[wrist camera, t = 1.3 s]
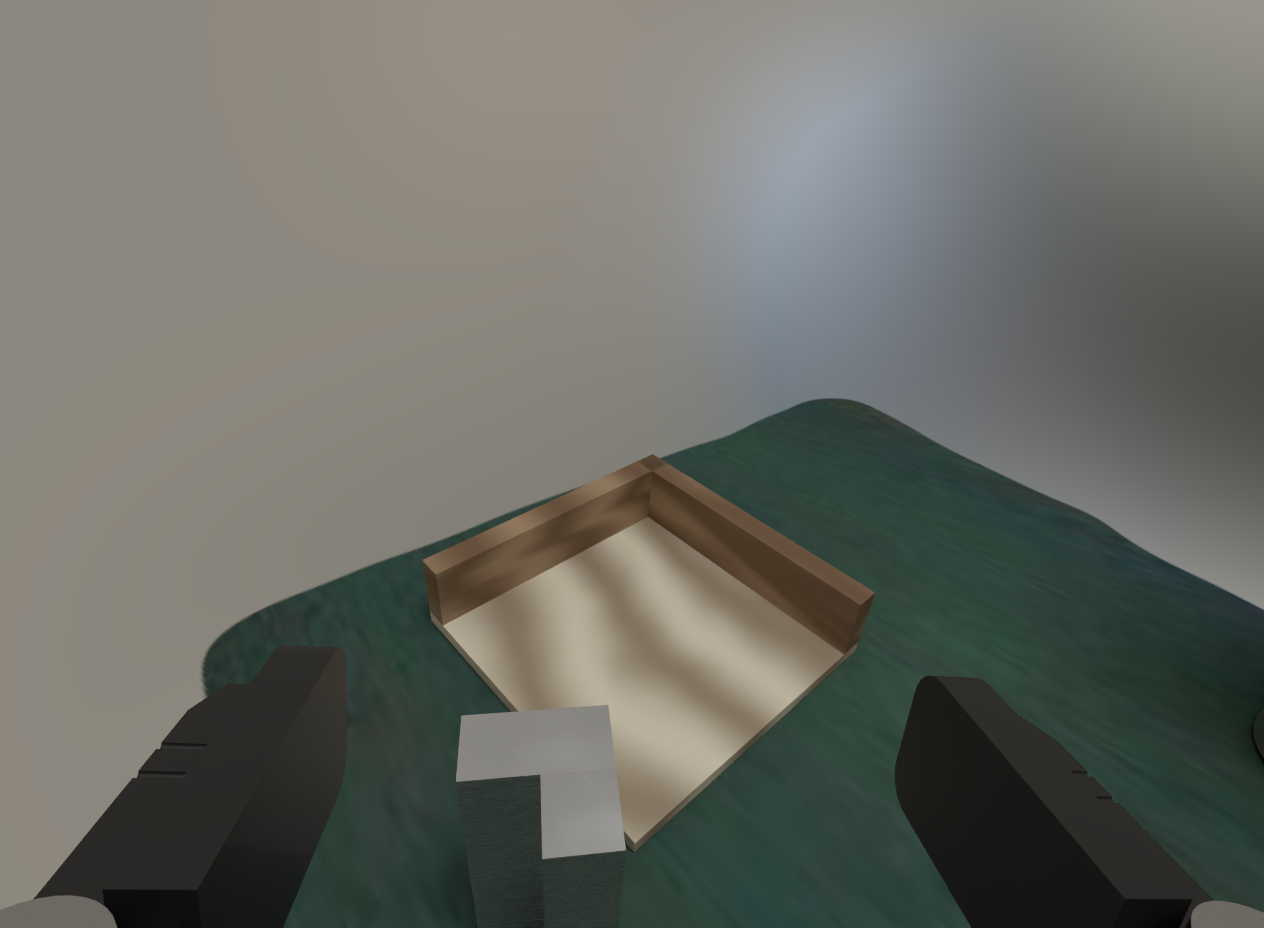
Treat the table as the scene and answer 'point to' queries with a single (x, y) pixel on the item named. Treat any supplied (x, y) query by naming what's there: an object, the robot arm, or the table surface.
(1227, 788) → the table surface
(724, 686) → the wooden tray
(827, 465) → the table surface
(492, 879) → the bracket
